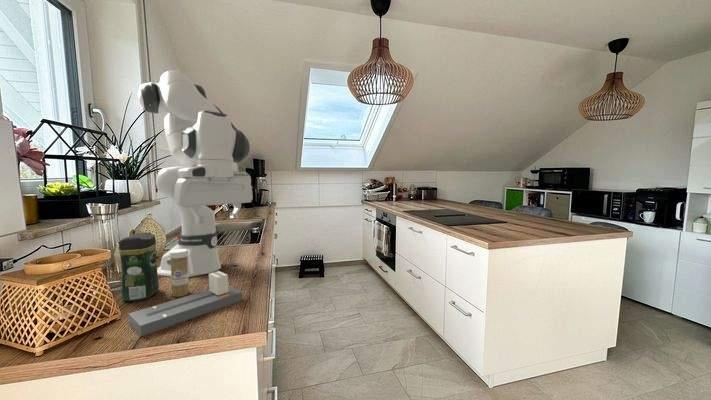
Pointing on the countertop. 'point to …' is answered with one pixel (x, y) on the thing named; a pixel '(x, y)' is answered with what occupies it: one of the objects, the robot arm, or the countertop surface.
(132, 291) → the coffee jar
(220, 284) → the fader tab
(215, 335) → the countertop surface
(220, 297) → the slider console
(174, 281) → the sprinkles bottle
